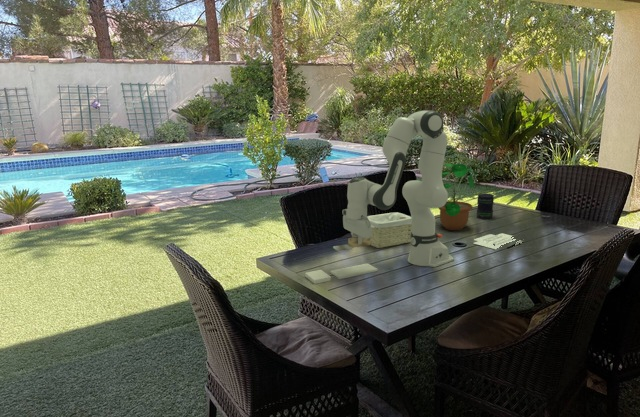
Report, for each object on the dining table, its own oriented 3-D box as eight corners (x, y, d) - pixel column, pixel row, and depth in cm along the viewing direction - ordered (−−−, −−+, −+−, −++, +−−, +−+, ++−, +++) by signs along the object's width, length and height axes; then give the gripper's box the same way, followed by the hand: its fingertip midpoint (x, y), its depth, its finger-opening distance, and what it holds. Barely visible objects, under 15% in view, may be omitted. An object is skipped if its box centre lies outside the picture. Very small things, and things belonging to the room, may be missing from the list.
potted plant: (441, 219, 304) (443, 158, 294) (483, 227, 283) (486, 162, 274) (412, 228, 283) (414, 163, 274) (455, 238, 263) (458, 168, 254)
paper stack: (466, 243, 256) (467, 236, 255) (495, 235, 273) (496, 229, 272) (500, 252, 240) (501, 245, 239) (529, 243, 257) (530, 236, 256)
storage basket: (396, 235, 271) (396, 211, 268) (414, 243, 257) (414, 217, 254) (361, 242, 261) (361, 216, 257) (377, 250, 246) (377, 223, 243)
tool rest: (367, 265, 225) (367, 263, 225) (377, 271, 217) (377, 269, 217) (330, 272, 217) (330, 270, 217) (339, 279, 209) (339, 277, 209)
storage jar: (491, 216, 308) (493, 193, 304) (493, 220, 298) (494, 197, 295) (475, 215, 310) (477, 193, 307) (477, 219, 301) (478, 196, 297)
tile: (320, 269, 216) (305, 272, 213) (330, 276, 207) (314, 280, 204) (321, 274, 217) (305, 277, 213) (330, 281, 208) (314, 284, 205)
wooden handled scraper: (365, 242, 220) (365, 234, 219) (371, 245, 215) (371, 237, 214) (333, 248, 213) (333, 239, 212) (338, 251, 208) (338, 242, 207)
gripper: (375, 217, 204) (375, 248, 207) (352, 208, 222) (352, 236, 225) (363, 219, 201) (362, 250, 204) (340, 209, 219) (340, 238, 222)
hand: (357, 242), depth 215 cm, fingers closed on wooden handled scraper, 2 cm apart
